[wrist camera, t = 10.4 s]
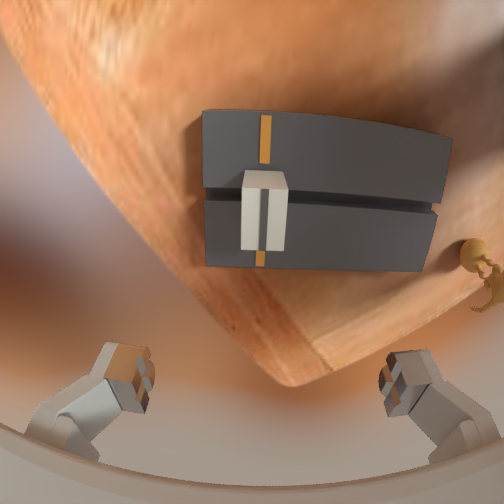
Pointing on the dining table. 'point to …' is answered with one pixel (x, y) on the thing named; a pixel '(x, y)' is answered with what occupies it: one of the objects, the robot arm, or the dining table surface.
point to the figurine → (476, 260)
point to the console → (325, 189)
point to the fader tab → (263, 210)
